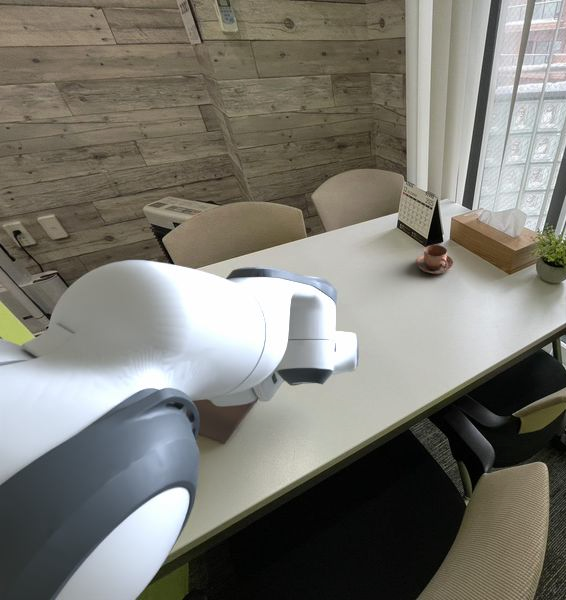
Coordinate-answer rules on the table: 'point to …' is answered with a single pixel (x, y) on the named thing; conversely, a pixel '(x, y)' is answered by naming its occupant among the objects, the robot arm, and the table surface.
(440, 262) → the cup and saucer
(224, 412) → the board
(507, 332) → the table surface
